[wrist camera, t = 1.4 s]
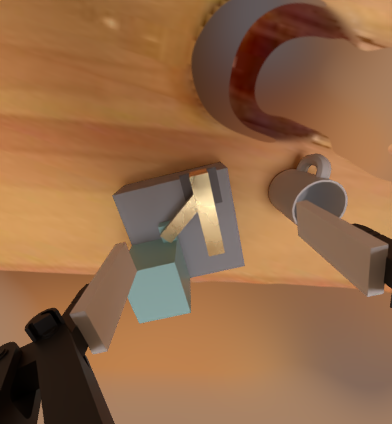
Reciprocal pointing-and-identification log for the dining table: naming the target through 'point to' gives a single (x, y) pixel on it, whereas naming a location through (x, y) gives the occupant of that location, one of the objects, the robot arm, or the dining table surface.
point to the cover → (159, 280)
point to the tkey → (206, 211)
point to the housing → (168, 207)
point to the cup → (308, 188)
